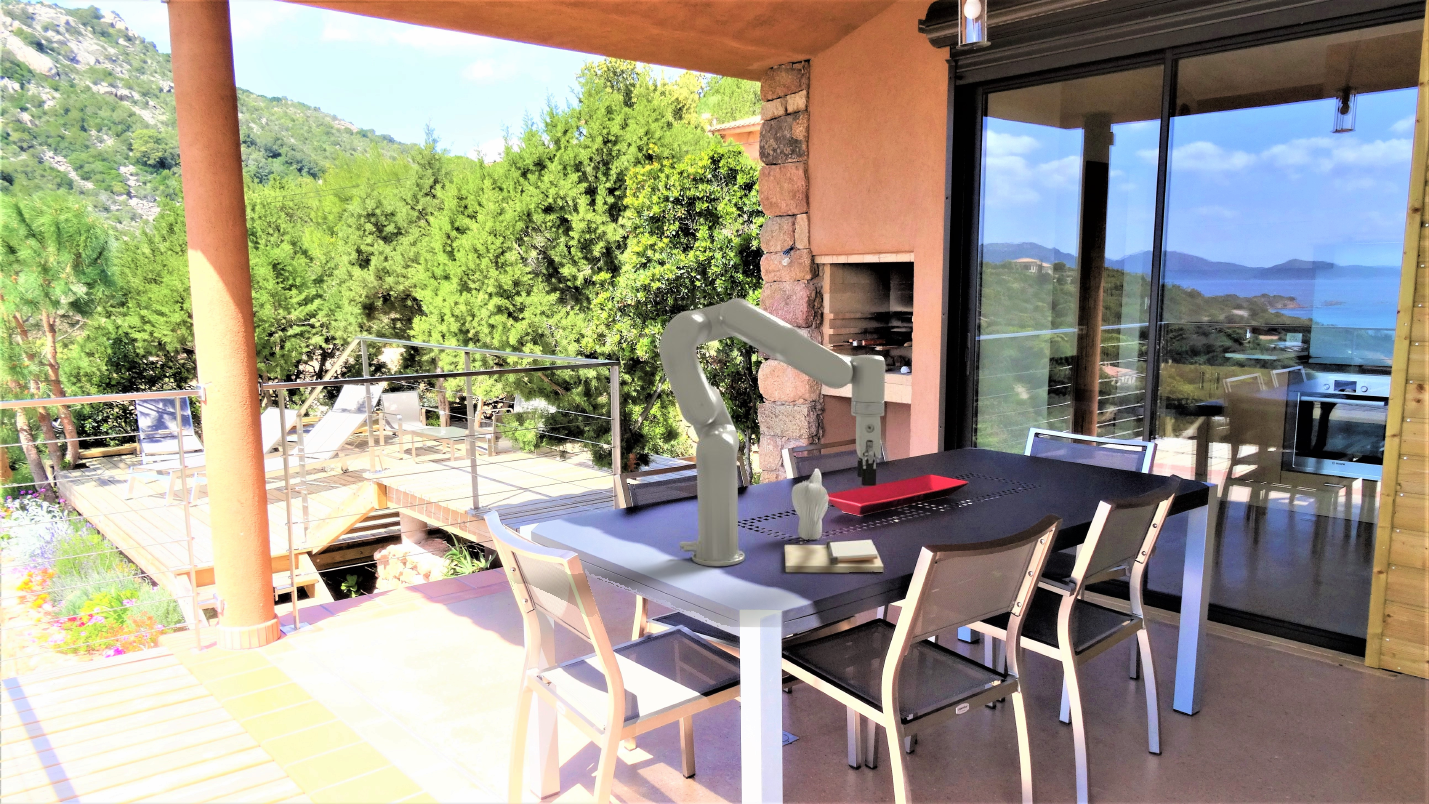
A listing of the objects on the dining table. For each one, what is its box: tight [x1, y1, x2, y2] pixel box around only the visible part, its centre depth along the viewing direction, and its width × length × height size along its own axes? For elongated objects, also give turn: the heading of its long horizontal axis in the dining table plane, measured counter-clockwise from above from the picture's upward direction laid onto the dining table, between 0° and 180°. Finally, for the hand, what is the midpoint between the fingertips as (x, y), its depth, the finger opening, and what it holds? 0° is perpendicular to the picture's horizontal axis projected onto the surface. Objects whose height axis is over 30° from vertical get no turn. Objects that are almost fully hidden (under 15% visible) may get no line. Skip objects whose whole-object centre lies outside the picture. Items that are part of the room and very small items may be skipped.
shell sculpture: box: [790, 468, 830, 541], centre depth 224 cm, size 8×8×18 cm
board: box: [784, 539, 884, 573], centre depth 204 cm, size 22×17×3 cm
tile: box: [828, 539, 879, 562], centre depth 204 cm, size 11×12×1 cm
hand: (866, 481), depth 202 cm, fingers open, 9 cm apart
